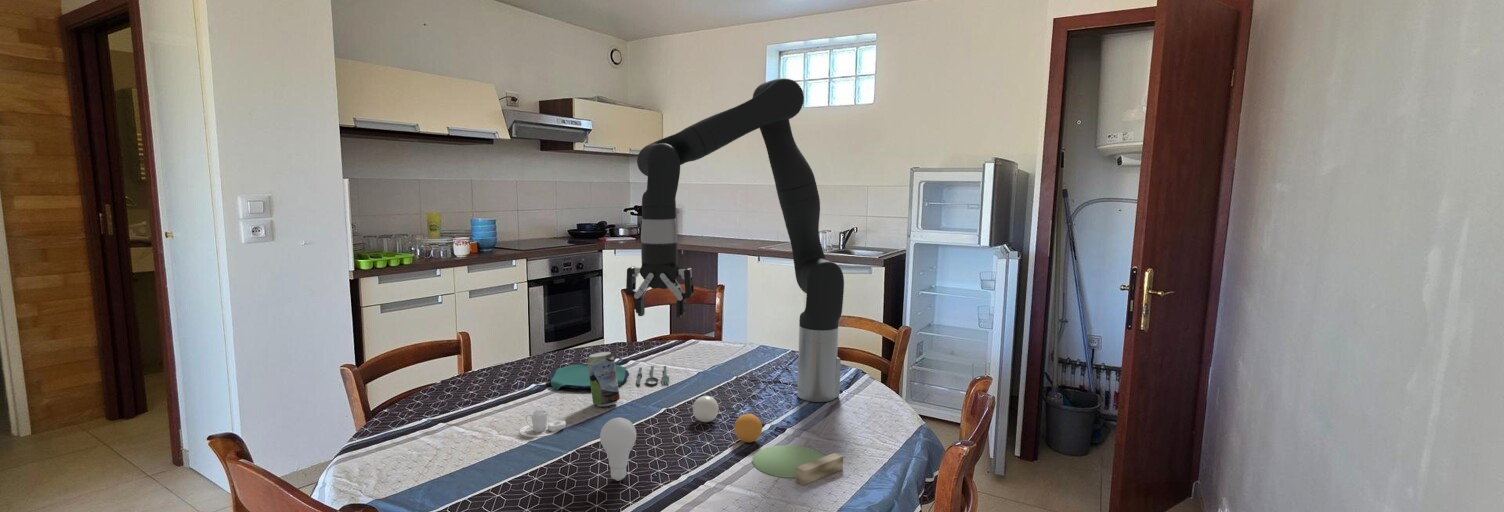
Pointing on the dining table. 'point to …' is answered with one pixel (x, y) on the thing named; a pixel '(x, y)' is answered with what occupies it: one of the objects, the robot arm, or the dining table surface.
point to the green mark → (784, 459)
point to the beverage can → (603, 379)
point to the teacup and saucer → (542, 424)
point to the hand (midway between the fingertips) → (660, 316)
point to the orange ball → (748, 428)
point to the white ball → (705, 409)
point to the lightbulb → (618, 444)
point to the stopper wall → (819, 468)
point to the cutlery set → (580, 379)
